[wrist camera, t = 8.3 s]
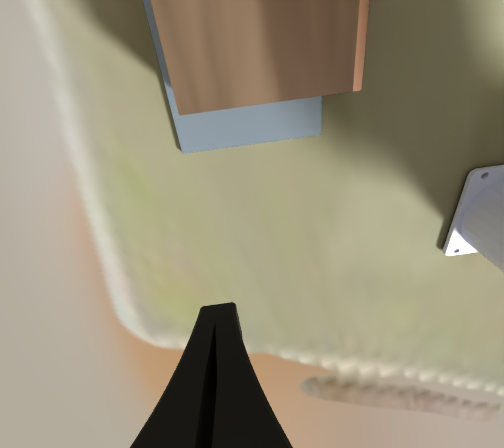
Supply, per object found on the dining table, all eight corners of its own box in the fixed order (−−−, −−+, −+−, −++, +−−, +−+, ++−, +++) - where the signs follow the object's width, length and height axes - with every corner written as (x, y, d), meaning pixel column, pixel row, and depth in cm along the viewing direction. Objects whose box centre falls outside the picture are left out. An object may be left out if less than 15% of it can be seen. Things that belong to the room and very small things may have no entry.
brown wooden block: (379, -101, 9) (133, -67, 9) (361, 90, 13) (178, 115, 13) (338, -62, 13) (158, -38, 13) (333, 81, 16) (189, 101, 16)
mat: (325, -158, 11) (327, -164, 11) (319, 133, 18) (321, 134, 18) (110, -130, 11) (107, -133, 11) (183, 152, 18) (182, 153, 18)
